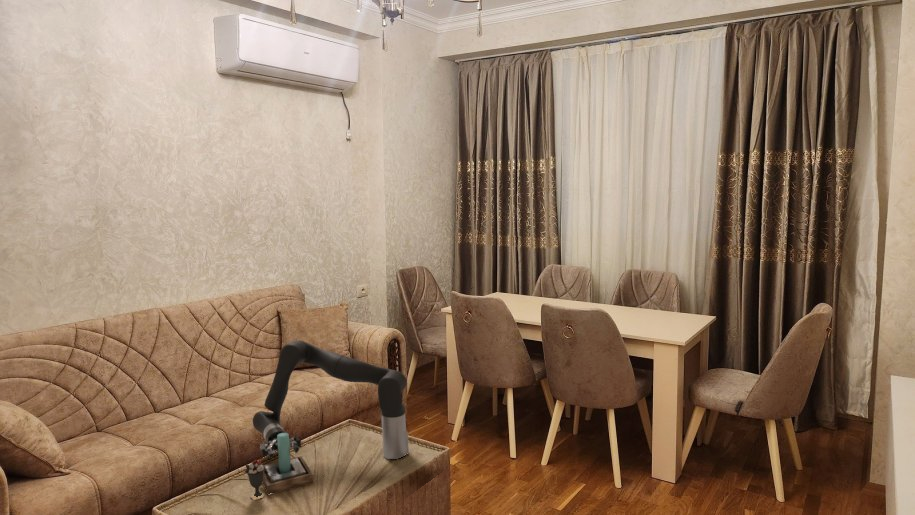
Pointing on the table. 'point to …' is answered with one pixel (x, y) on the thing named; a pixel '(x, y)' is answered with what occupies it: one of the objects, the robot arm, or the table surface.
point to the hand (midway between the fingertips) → (284, 453)
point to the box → (290, 482)
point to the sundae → (255, 475)
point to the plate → (275, 475)
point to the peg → (284, 453)
